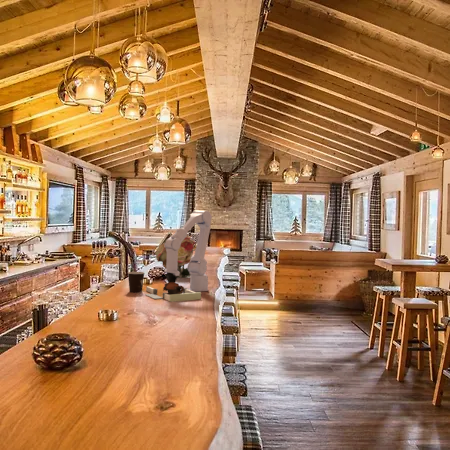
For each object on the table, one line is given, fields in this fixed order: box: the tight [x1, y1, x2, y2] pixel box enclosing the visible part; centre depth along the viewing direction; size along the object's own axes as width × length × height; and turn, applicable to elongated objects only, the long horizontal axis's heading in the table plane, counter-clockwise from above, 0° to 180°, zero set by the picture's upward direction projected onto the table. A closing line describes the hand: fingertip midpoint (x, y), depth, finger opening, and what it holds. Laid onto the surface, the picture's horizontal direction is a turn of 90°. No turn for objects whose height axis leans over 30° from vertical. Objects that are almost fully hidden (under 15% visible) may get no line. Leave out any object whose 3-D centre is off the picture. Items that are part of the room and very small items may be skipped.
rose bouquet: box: [154, 233, 197, 279], centre depth 297 cm, size 26×29×30 cm
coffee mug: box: [127, 271, 145, 294], centre depth 237 cm, size 12×9×10 cm
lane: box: [145, 286, 202, 303], centre depth 229 cm, size 24×31×3 cm
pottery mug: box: [162, 282, 185, 295], centre depth 224 cm, size 12×10×8 cm
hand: (171, 287), depth 230 cm, fingers closed
